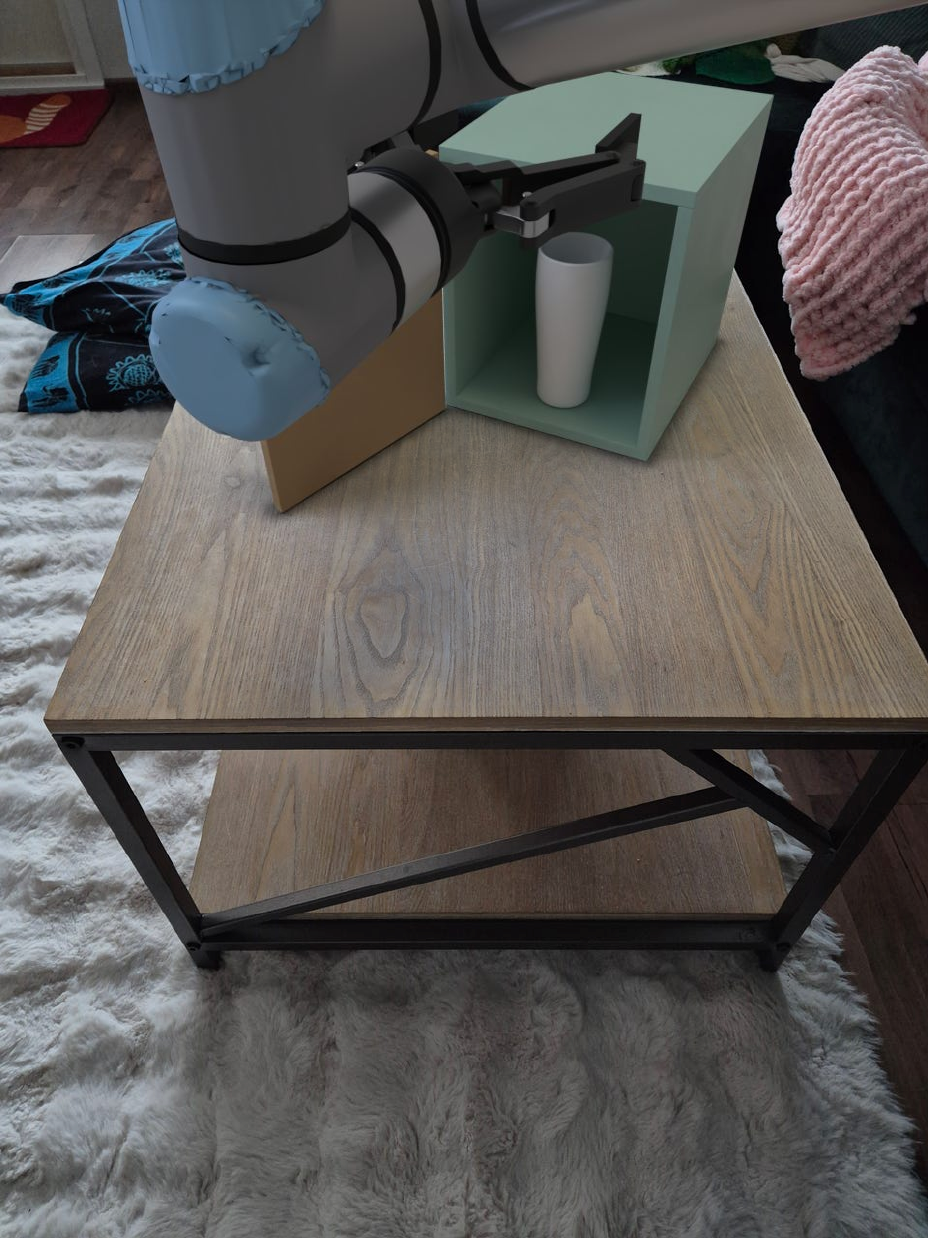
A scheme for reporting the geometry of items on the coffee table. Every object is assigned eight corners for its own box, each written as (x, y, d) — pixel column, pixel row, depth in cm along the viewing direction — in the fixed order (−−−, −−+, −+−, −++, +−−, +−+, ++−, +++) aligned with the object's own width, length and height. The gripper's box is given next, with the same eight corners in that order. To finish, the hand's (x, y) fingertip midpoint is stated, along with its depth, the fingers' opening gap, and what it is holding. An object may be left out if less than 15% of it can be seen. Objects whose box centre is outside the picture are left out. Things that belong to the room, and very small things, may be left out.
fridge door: (237, 483, 78) (168, 215, 60) (401, 385, 89) (383, 133, 71) (282, 513, 75) (223, 241, 58) (445, 408, 86) (438, 151, 68)
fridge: (646, 461, 80) (697, 191, 62) (445, 404, 87) (438, 145, 69) (716, 342, 95) (774, 94, 76) (539, 300, 101) (553, 63, 83)
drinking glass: (594, 417, 83) (613, 267, 72) (525, 411, 84) (533, 262, 73) (598, 379, 87) (616, 233, 76) (532, 374, 88) (541, 228, 77)
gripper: (218, 265, 53) (389, 151, 66) (593, 357, 45) (705, 208, 58) (187, 133, 48) (381, 37, 60) (609, 212, 40) (729, 82, 52)
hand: (540, 120), depth 59 cm, fingers open, 13 cm apart
